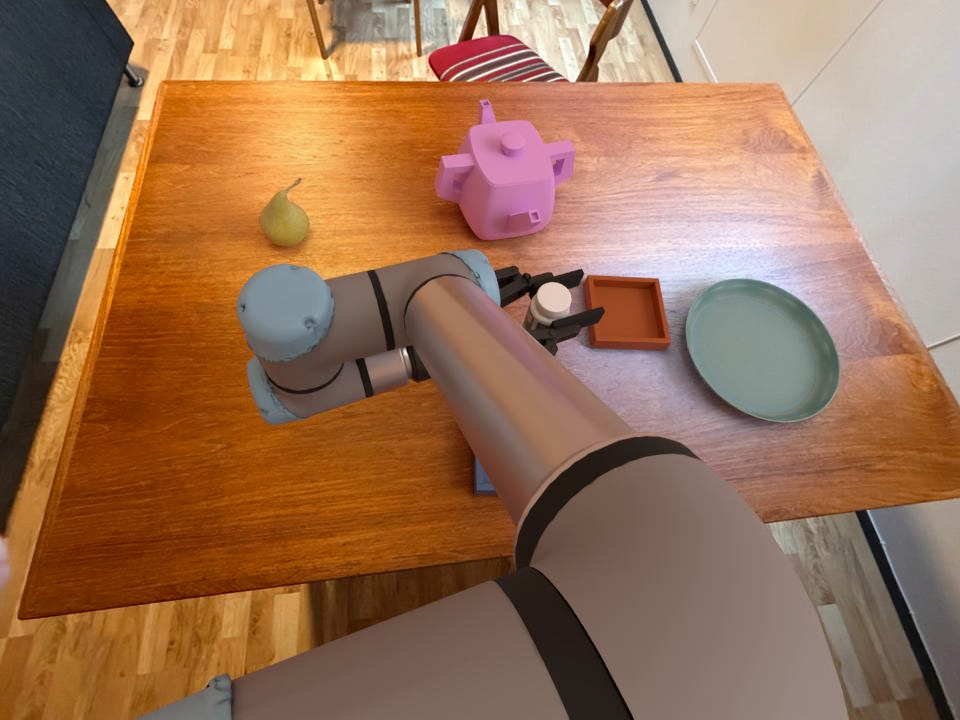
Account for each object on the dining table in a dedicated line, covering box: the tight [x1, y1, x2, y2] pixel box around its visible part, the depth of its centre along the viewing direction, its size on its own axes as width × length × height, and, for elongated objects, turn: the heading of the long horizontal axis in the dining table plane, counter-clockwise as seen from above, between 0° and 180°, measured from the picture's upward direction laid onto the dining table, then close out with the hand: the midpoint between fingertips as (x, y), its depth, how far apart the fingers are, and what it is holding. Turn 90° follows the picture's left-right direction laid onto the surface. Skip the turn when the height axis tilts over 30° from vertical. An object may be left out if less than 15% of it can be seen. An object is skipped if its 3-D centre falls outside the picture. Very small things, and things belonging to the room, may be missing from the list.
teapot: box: [433, 99, 577, 241], centre depth 86 cm, size 19×18×15 cm
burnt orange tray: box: [582, 274, 672, 352], centre depth 85 cm, size 12×12×3 cm
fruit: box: [259, 177, 310, 248], centre depth 80 cm, size 7×8×12 cm
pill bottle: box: [521, 282, 572, 330], centre depth 65 cm, size 5×5×8 cm
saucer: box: [685, 277, 841, 423], centre depth 84 cm, size 24×24×3 cm
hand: (589, 295), depth 65 cm, fingers closed on pill bottle, 5 cm apart
